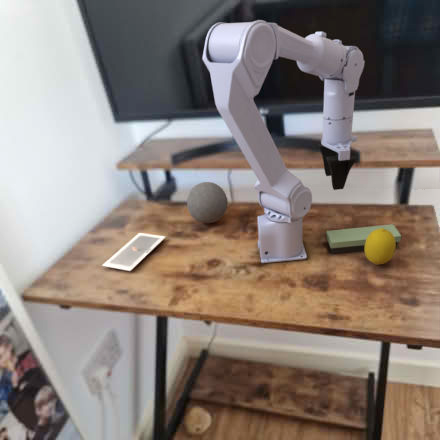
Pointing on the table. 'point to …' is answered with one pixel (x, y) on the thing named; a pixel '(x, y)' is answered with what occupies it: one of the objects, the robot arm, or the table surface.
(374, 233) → the lemon
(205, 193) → the decorative ball
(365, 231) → the green block
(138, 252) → the touchpad
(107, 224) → the table surface
